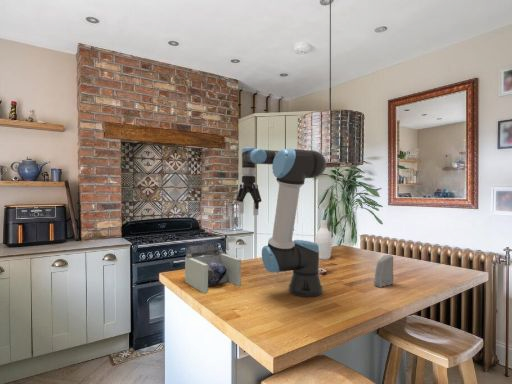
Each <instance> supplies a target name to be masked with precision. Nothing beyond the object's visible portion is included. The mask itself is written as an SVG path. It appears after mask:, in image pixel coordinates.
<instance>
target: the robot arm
mask: <svg viewBox="0 0 512 384" xmlns="http://www.w3.org/2000/svg"><path fill="white" fill-rule="evenodd" d="M256 165H272V167H271V168H272V174H273V176H274V177H275V178H276V179H275V180H276V181H277V183H278V191H277V193H278V194H277V200H276V208H275V215H274V222H273V228H272V230H273V231H272V236H271V237H270V238H269V239H268V242H267V245H263V247H262V248H261V260H262V263H263V266H264V268H265V269H266V271H267V272H269V273H276V274H278V273H280V272H281V273H282V272H283V273H285V272H290V271H292V276H291V279H290V282H289V285H288V292H289V293H290V294H292V295H295V296H299V297H306V298H308V297H317V296H321V295H322V294H323V286H322V284H321V280H320V275H319V265H320V264H319V262H320V261H319V260H320V259H319V246H318V244H316V243H315V241H310V240H303V239H294V240H293V237H294V236H293V234H294V229H295V223H296V216H297V215H296V214H297V208H298V203H299V198H300V197H299V196H300V195H299V194H300V188H302V187H303V185H305V182H306V179H314V178H319V176H321V175H322V174H323V173H324V172H325V170H326V168H327V160H326V157H325V156H324V155H323V154H322V153H321V152H320V151H317V150H308V149H307V150H306V149H297V148H283V149H280V150H270V149H263V148H255V147H253V146H252V147H251V146H247V147H245V146H244V147H243V148H242V151H241V182H242V183H243V184H241V183H240V184H239V189H238V192H237V196H236V199H235V200H236V201H237V202H238V214H244V213H245V210H244V209H245V201H244V199H245V197H246V196H247V194H250V196H251V198H252V200H253V207H252V210H253V216H259V207H260V205H259V204H260V203H261V202H262V197H261V194H260V190H259V185H258V184H255V183H256V176H255V175H256Z"/></svg>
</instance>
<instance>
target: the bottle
mask: <svg viewBox="0 0 512 384" xmlns="http://www.w3.org/2000/svg"><path fill="white" fill-rule="evenodd" d="M319 221H320V226H319V229H318V230H317V233H316V236H315V240H314V243H316V244H318V246H319V260H329V259H330V258H331V255H332V248H333V247H332V245H333V242H332V239H333V238H332V235H331V233H330V231H329V228H328V220H325V219H322V220H319Z"/></svg>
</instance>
